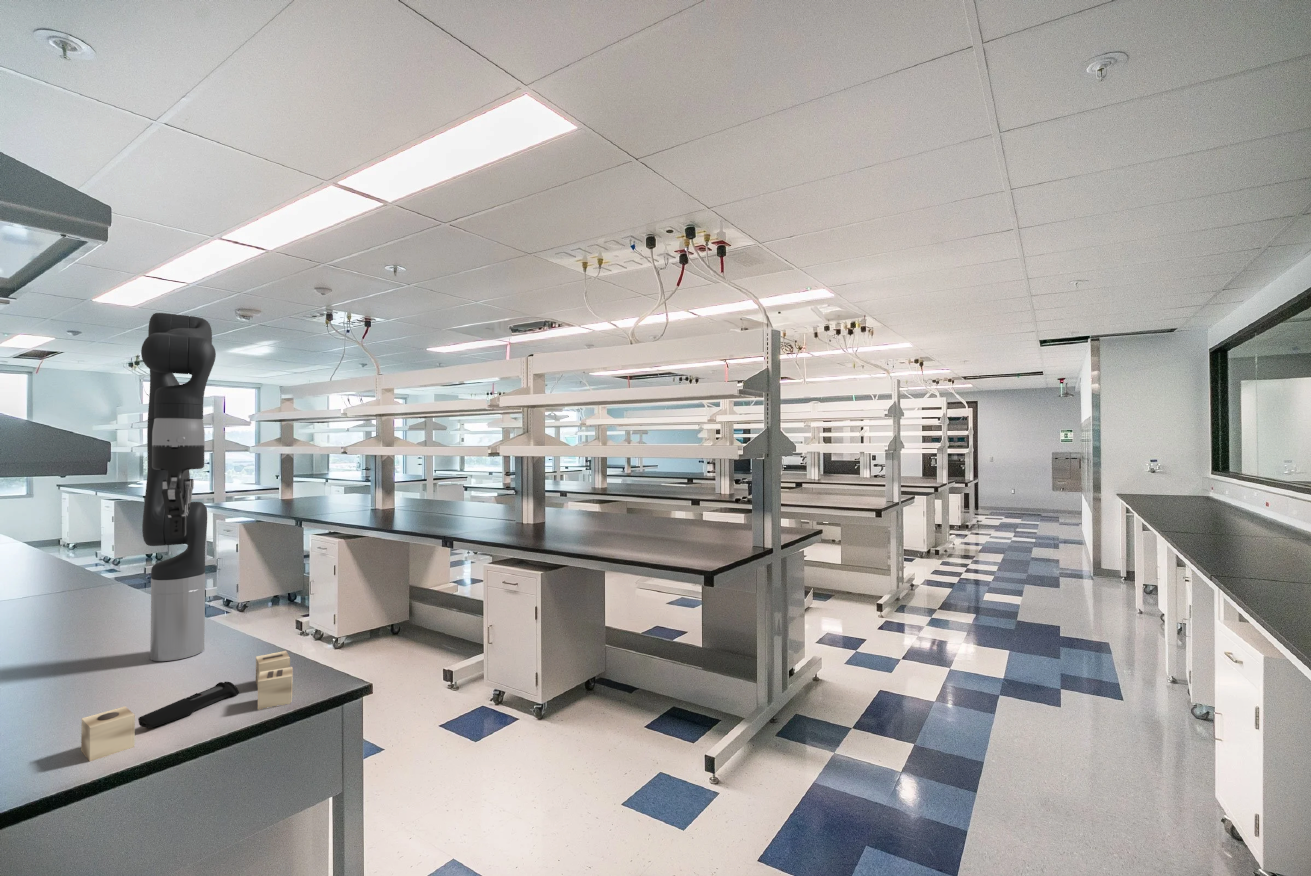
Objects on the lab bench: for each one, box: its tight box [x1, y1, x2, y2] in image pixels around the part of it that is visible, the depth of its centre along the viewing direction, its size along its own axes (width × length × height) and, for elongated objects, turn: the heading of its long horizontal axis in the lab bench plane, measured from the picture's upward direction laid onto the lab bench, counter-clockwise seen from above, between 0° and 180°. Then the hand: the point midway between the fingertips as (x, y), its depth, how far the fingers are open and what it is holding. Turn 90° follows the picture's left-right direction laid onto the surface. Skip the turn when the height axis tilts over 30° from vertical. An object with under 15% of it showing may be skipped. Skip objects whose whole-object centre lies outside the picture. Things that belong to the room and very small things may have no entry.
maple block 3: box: [257, 666, 294, 711], centre depth 105 cm, size 5×5×5 cm
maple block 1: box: [80, 705, 136, 762], centre depth 89 cm, size 5×5×5 cm
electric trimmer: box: [137, 681, 240, 729], centre depth 101 cm, size 4×16×3 cm, turn 164°
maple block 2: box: [255, 650, 291, 688], centre depth 114 cm, size 5×5×5 cm
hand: (177, 537), depth 108 cm, fingers closed
